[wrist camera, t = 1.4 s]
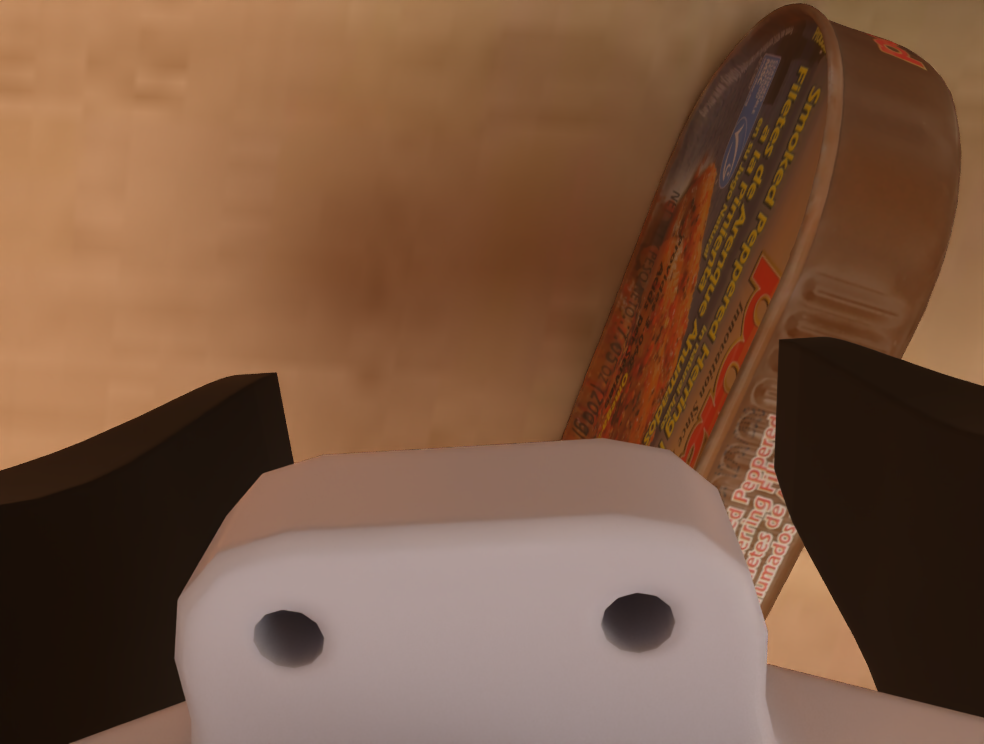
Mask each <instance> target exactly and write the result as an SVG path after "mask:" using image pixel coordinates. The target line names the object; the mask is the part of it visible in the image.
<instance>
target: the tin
mask: <svg viewBox="0 0 984 744" xmlns="http://www.w3.org/2000/svg"><path fill="white" fill-rule="evenodd" d="M960 170H961V144H960V133H959V126H958V120H957V115H956V109H955V105H954V102H953V98H952V95H951V92H950V91H949V89H948V87H947V86H946V84H945V82H944V80H943V79H942V77H941V76H940V75H939V74H938V73H937V72H936V71H935V70H934V68H933V67H932V66H931V65H929V64H928V63H927V62H926V61H925V60H923V59H922V58H921V57H920V56H918V55H917V54H915V53H914V52H912V51H910V50H909V49H907V48H905V47H903V46H900V45H898V44H896V43H893V42H891V41H888V40H886V39H883V38H879V37H876V36H873V35H870V34H867V33H864V32H861V31H858V30H855V29H852V28H849V27H846V26H843V25H840V24H838V23H835V22H832V21H830V20H828V19H827V18H826V17H825V15H823V14H822V13H821V12H820V11H819V10H818V9H816V8H814V7H813V6H810V5H807V4H802V3H796V4H789V5H785V6H783V7H780V8H778V9H776V10H774V11H773V12H771V13H770V14H768V15H767V16H766V17H764V18H763V19H762V20H760V21H759V22H758V23H757V24H756V25H755V26H754V27H753V28H752V29H751V30H750V31H749V32H748V33H747V35H746V36H745V37H744V38H742V40H741V41H740V42H739V43H738V44H737V45H736V47H735V48H734V49H733V50H732V51H731V53H730V54H729V55H728V56H727V58H726V59H725V60H724V62H723V63H722V64H721V66H720V67H719V68H718V70H717V71H716V73H715V74H714V75H713V77H712V78H711V80H710V81H709V83H708V84H707V86H706V88H705V89H704V91H703V93H702V94H701V96H700V98H699V100H698V101H697V103H696V105H695V107H694V109H693V111H692V112H691V114H690V116H689V118H688V120H687V122H686V124H685V126H684V128H683V130H682V132H681V134H680V137H679V139H678V141H677V144H676V146H675V149H674V151H673V153H672V155H671V157H670V159H669V161H668V164H667V166H666V169H665V171H664V174H663V176H662V179H661V181H660V184H659V186H658V189H657V191H656V194H655V196H654V199H653V201H652V204H651V207H650V210H649V212H648V215H647V218H646V220H645V222H644V225H643V228H642V231H641V233H640V236H639V238H638V241H637V244H636V247H635V249H634V252H633V255H632V257H631V260H630V262H629V265H628V267H627V270H626V272H625V275H624V278H623V281H622V284H621V286H620V289H619V291H618V294H617V296H616V299H615V302H614V304H613V307H612V310H611V312H610V315H609V317H608V320H607V323H606V325H605V328H604V330H603V333H602V336H601V338H600V341H599V343H598V346H597V349H596V351H595V353H594V356H593V358H592V361H591V364H590V366H589V369H588V371H587V374H586V377H585V379H584V382H583V385H582V387H581V390H580V393H579V395H578V398H577V401H576V403H575V406H574V408H573V411H572V413H571V416H570V419H569V421H568V424H567V427H566V429H565V432H564V435H563V437H562V440H561V441H564V440H581V439H597V438H606V439H611V440H617V441H623V442H628V443H634V444H639V445H645V446H651V447H656V448H662V449H668V450H671V451H672V452H673V453H674V454H675V455H677V456H678V457H679V458H680V459H682V460H683V461H684V462H685V463H686V464H688V465H689V466H690V467H691V468H693V469H694V470H695V471H696V472H697V473H699V474H700V475H701V476H702V477H704V478H705V479H706V480H707V481H708V482H710V483H711V484H712V485H713V486H715V487H716V488H717V489H718V491H719V494H720V496H721V499H722V502H723V504H724V507H725V509H726V512H727V514H728V517H729V519H730V522H731V525H732V527H733V530H734V532H735V535H736V537H737V540H738V542H739V545H740V548H741V550H742V553H743V555H744V558H745V560H746V563H747V565H748V568H749V571H750V574H751V577H752V580H753V584H754V587H755V590H756V594H757V597H758V600H759V604H760V607H761V610H762V614H763V617H764V620H766V618H767V616H768V614H769V612H770V610H771V609H772V607H773V605H774V603H775V601H776V599H777V597H778V595H779V593H780V591H781V589H782V587H783V585H784V583H785V582H786V580H787V578H788V576H789V574H790V572H791V570H792V568H793V566H794V564H795V562H796V560H797V558H798V556H799V554H800V553H801V551H802V549H803V548H804V544H803V542H802V540H801V538H800V536H799V534H798V532H797V530H796V528H795V526H794V525H793V523H792V520H791V517H790V515H789V512H788V509H787V506H786V504H785V501H784V498H783V495H782V492H781V489H780V486H779V483H778V479H777V476H776V473H775V470H774V454H775V428H776V403H777V377H778V351H779V339H794V338H809V337H832V338H837V339H841V340H845V341H848V342H852V343H855V344H858V345H861V346H864V347H867V348H870V349H873V350H876V351H878V352H881V353H884V354H887V355H890V356H893V357H895V358H898V359H901V358H902V356H903V354H904V352H905V350H906V348H907V346H908V344H909V342H910V340H911V338H912V336H913V334H914V332H915V330H916V328H917V326H918V324H919V322H920V320H921V318H922V316H923V314H924V312H925V309H926V307H927V304H928V302H929V299H930V296H931V294H932V291H933V289H934V286H935V283H936V281H937V278H938V276H939V273H940V270H941V267H942V264H943V261H944V258H945V254H946V251H947V247H948V243H949V240H950V236H951V232H952V227H953V222H954V218H955V213H956V208H957V202H958V192H959V182H960Z"/></svg>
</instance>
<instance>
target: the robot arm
mask: <svg viewBox="0 0 984 744" xmlns="http://www.w3.org/2000/svg"><path fill="white" fill-rule="evenodd" d="M774 470H775V473H776V476H777V479H778V483H779V486H780V489H781V492H782V495H783V498H784V501H785V504H786V506H787V509H788V512H789V515H790V517H791V520H792V523H793V525H794V526H795V528H796V530H797V532H798V534H799V536H800V538H801V540H802V542H803V544H804V546H805V547H806V549H807V551H808V553H809V555H810V557H811V559H812V561H813V563H814V564H815V566H816V568H817V570H818V572H819V573H820V575H821V577H822V579H823V581H824V583H825V584H826V586H827V588H828V590H829V592H830V594H831V595H832V597H833V599H834V601H835V603H836V605H837V606H838V608H839V610H840V612H841V614H842V616H843V617H844V619H845V621H846V623H847V625H848V627H849V628H850V630H851V632H852V634H853V636H854V638H855V640H856V642H857V644H858V646H859V648H860V650H861V652H862V654H863V657H864V659H865V661H866V663H867V665H868V667H869V670H870V672H871V675H872V678H873V680H874V683H875V685H876V688H877V690H878V691H874V690H870V689H866V688H862V687H858V686H854V685H850V684H846V683H842V682H838V681H834V680H830V679H826V678H822V677H818V676H814V675H810V674H806V673H802V672H797V671H793V670H789V669H785V668H781V667H777V666H773V665H769V664H767V644H768V630H767V627H766V624H765V620H764V617H763V614H762V610H761V607H760V604H759V600H758V597H757V594H756V590H755V587H754V584H753V580H752V577H751V574H750V571H749V568H748V565H747V563H746V560H745V558H744V555H743V553H742V550H741V548H740V545H739V542H738V540H737V537H736V535H735V532H734V530H733V527H732V525H731V522H730V519H729V517H728V514H727V512H726V509H725V507H724V504H723V502H722V499H721V496H720V494H719V491H718V489H717V488H716V487H715V486H713V485H712V484H711V483H710V482H708V481H707V480H706V479H705V478H704V477H702V476H701V475H700V474H699V473H697V472H696V471H695V470H694V469H693V468H691V467H690V466H689V465H688V464H686V463H685V462H684V461H683V460H682V459H680V458H679V457H678V456H677V455H675V454H674V453H673V452H672V451H671V450H668V449H662V448H656V447H651V446H645V445H639V444H634V443H628V442H623V441H617V440H611V439H606V438H597V439H581V440H564V441H547V442H530V443H513V444H496V445H479V446H463V447H446V448H429V449H412V450H395V451H378V452H361V453H344V454H328V455H320V456H317V457H314V458H310V459H307V460H304V461H301V462H298V463H295V464H294V461H293V456H292V451H291V445H290V440H289V435H288V430H287V424H286V419H285V414H284V408H283V403H282V398H281V393H280V387H279V382H278V377H277V372H275V373H259V374H244V375H234V376H229V377H225V378H222V379H219V380H217V381H214V382H211V383H209V384H207V385H204V386H202V387H200V388H198V389H195V390H193V391H191V392H189V393H187V394H185V395H183V396H180V397H178V398H176V399H174V400H172V401H170V402H168V403H166V404H164V405H162V406H160V407H158V408H156V409H153V410H151V411H149V412H147V413H145V414H143V415H141V416H139V417H137V418H134V419H132V420H130V421H128V422H125V423H123V424H121V425H119V426H116V427H114V428H112V429H110V430H107V431H105V432H103V433H101V434H98V435H96V436H94V437H92V438H89V439H87V440H85V441H83V442H80V443H78V444H75V445H73V446H70V447H68V448H65V449H62V450H60V451H57V452H54V453H52V454H49V455H46V456H43V457H40V458H37V459H34V460H32V461H29V462H26V463H23V464H20V465H17V466H14V467H11V468H7V469H4V470H1V471H0V744H984V386H981V385H978V384H974V383H971V382H968V381H964V380H961V379H958V378H954V377H951V376H948V375H945V374H942V373H939V372H936V371H933V370H930V369H927V368H924V367H921V366H918V365H915V364H912V363H910V362H907V361H904V360H901V359H898V358H895V357H893V356H890V355H887V354H884V353H881V352H878V351H876V350H873V349H870V348H867V347H864V346H861V345H858V344H855V343H852V342H848V341H845V340H841V339H837V338H832V337H809V338H794V339H779V351H778V377H777V403H776V428H775V454H774Z"/></svg>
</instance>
